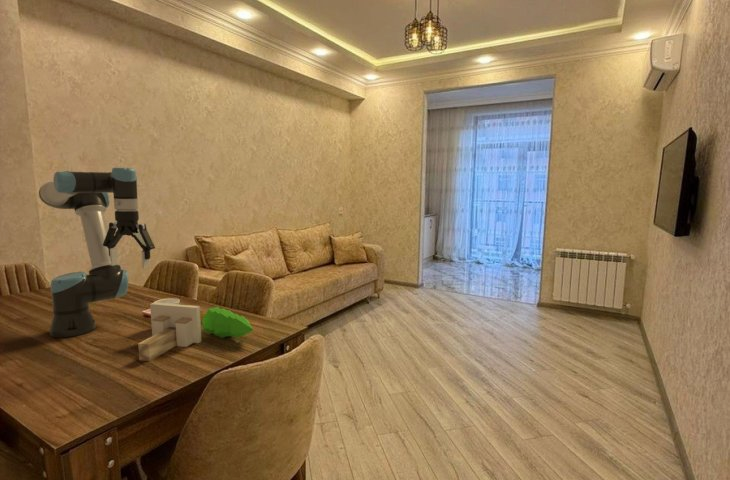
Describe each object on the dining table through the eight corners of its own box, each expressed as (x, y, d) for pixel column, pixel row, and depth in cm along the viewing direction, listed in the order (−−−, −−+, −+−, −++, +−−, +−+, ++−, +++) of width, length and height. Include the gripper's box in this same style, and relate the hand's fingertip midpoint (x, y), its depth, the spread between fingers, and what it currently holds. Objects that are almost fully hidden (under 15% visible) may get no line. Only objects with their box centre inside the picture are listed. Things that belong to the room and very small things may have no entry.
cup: (170, 331, 162) (169, 305, 161) (149, 329, 164) (147, 304, 163) (186, 323, 172) (184, 298, 170) (166, 321, 174) (164, 297, 172)
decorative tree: (208, 298, 166) (258, 309, 150) (219, 320, 171) (268, 332, 155) (186, 315, 158) (236, 328, 142) (198, 337, 163) (248, 352, 147)
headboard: (144, 342, 151) (142, 307, 149) (156, 336, 157) (153, 302, 155) (191, 347, 147) (189, 311, 145) (201, 341, 153) (199, 306, 151)
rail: (139, 360, 136) (138, 343, 135) (170, 342, 152) (169, 327, 151) (149, 361, 135) (148, 344, 135) (180, 343, 151) (179, 327, 150)
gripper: (88, 209, 145) (93, 265, 148) (148, 212, 140) (152, 271, 143) (105, 207, 152) (109, 261, 155) (163, 211, 147) (166, 266, 151)
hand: (130, 266), depth 149 cm, fingers open, 13 cm apart
